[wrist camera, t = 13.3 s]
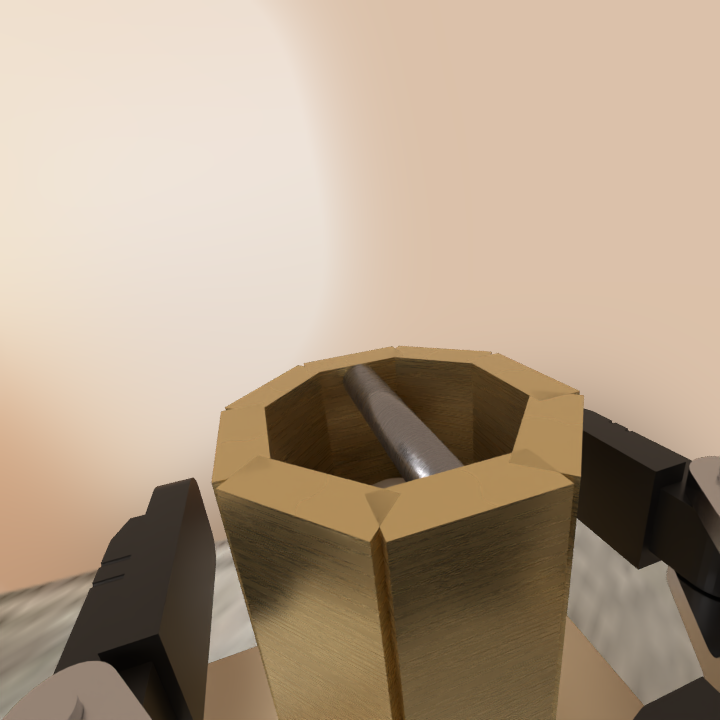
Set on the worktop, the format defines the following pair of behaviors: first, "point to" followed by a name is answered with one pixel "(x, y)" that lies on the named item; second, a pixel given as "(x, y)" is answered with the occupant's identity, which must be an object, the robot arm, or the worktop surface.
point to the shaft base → (575, 700)
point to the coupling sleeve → (405, 533)
